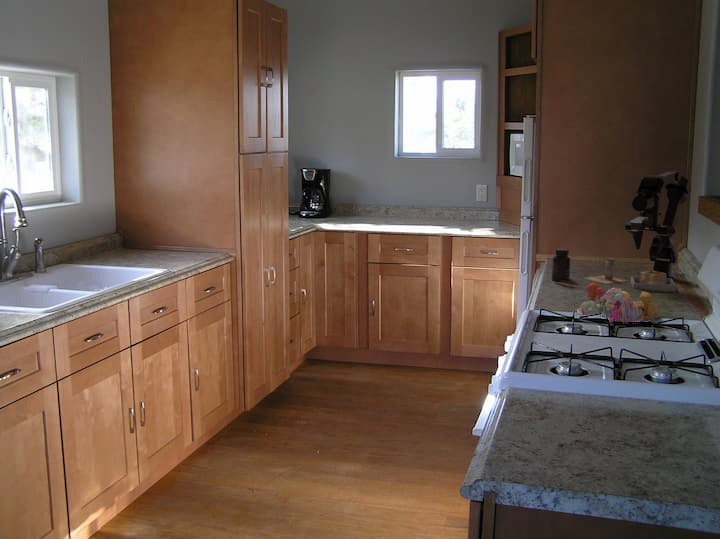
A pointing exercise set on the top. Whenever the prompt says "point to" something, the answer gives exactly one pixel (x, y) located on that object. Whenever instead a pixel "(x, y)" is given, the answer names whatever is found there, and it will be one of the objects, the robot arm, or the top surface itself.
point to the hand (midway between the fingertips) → (648, 251)
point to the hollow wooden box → (653, 277)
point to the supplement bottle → (561, 265)
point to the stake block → (606, 274)
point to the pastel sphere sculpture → (619, 305)
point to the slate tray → (654, 285)
